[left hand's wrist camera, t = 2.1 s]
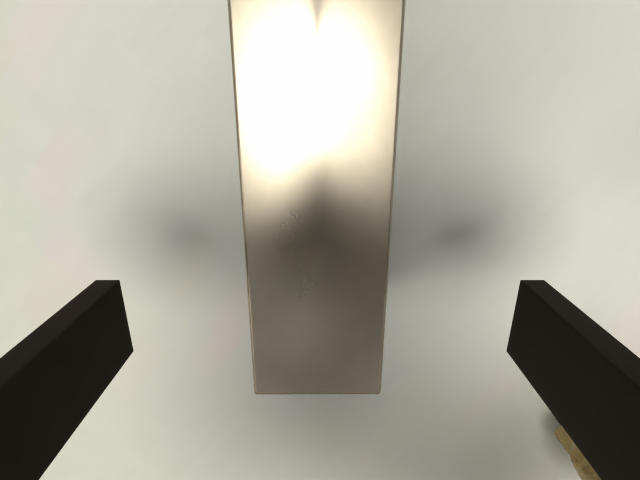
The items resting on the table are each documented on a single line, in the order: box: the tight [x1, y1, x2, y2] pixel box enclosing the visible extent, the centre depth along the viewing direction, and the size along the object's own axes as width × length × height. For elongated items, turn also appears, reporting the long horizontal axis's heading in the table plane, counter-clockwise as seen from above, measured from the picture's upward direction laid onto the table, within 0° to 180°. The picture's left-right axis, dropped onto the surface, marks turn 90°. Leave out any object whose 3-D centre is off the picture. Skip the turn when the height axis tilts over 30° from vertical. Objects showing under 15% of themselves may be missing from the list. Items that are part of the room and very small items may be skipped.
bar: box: [228, 0, 405, 394], centre depth 14 cm, size 23×5×8 cm, turn 0°
